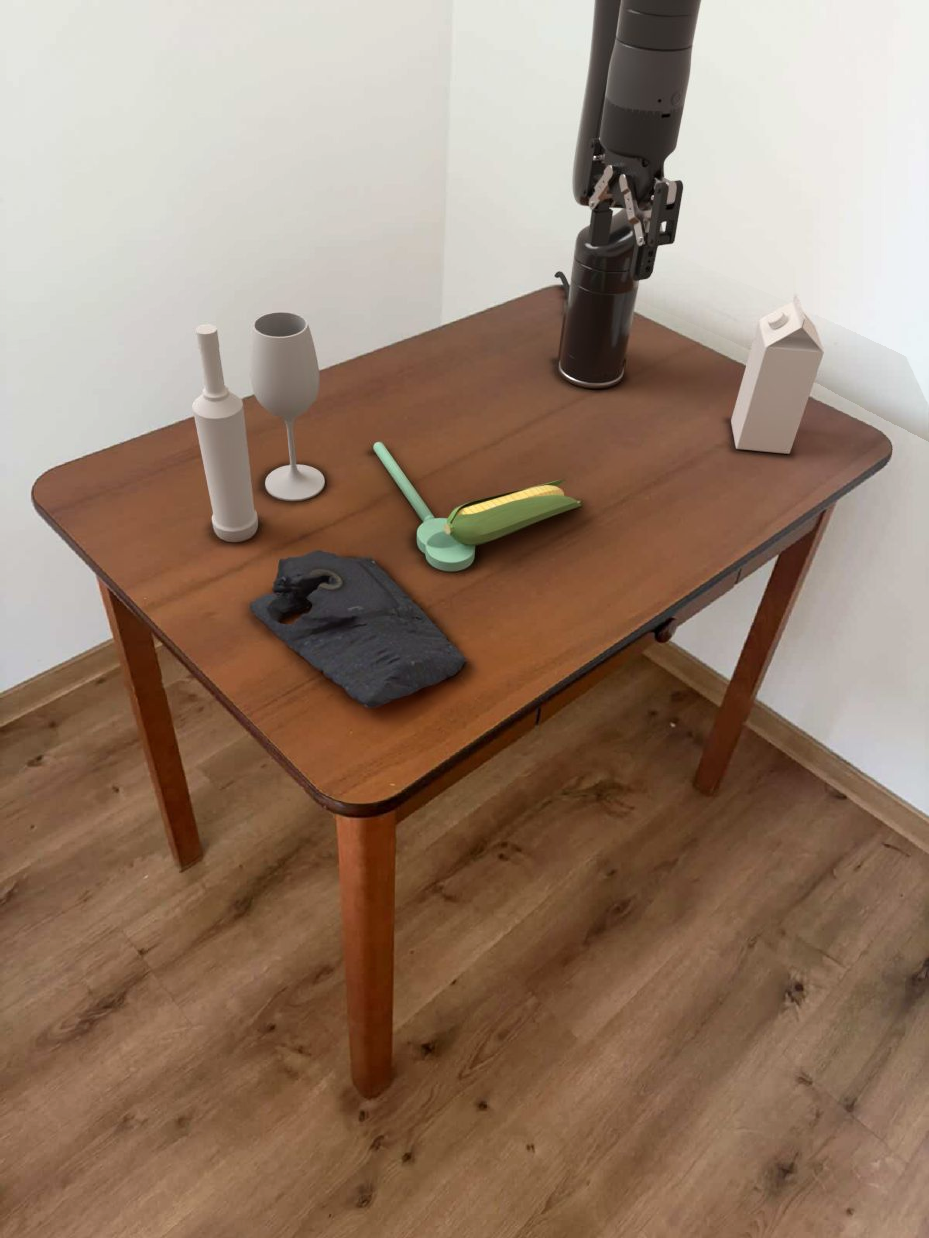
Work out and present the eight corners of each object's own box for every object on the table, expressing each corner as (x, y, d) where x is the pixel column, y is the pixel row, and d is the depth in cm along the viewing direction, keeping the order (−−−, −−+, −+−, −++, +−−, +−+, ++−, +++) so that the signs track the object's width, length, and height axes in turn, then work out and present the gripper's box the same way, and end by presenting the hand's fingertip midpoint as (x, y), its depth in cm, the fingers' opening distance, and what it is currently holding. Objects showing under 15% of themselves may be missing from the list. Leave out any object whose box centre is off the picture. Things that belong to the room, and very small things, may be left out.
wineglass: (300, 457, 122) (287, 301, 107) (338, 485, 118) (330, 327, 104) (251, 481, 118) (230, 322, 103) (289, 510, 114) (272, 349, 100)
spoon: (356, 453, 123) (356, 444, 122) (397, 444, 125) (397, 435, 124) (437, 576, 107) (437, 567, 106) (482, 564, 109) (483, 555, 108)
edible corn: (431, 534, 110) (436, 501, 106) (566, 492, 119) (574, 461, 116) (457, 560, 107) (462, 527, 104) (593, 515, 116) (601, 484, 113)
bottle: (221, 548, 109) (187, 346, 91) (207, 522, 112) (172, 322, 95) (265, 536, 111) (240, 336, 93) (250, 511, 114) (224, 312, 96)
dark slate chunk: (350, 737, 90) (348, 704, 87) (240, 603, 102) (235, 570, 99) (480, 669, 97) (482, 636, 94) (362, 552, 109) (361, 519, 106)
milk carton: (782, 426, 133) (824, 295, 119) (789, 455, 128) (834, 322, 114) (730, 421, 133) (767, 289, 120) (735, 450, 128) (774, 316, 115)
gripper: (573, 76, 94) (555, 239, 106) (653, 122, 85) (623, 296, 97) (638, 70, 97) (613, 230, 108) (722, 115, 88) (685, 285, 99)
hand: (618, 261), depth 102 cm, fingers open, 8 cm apart
